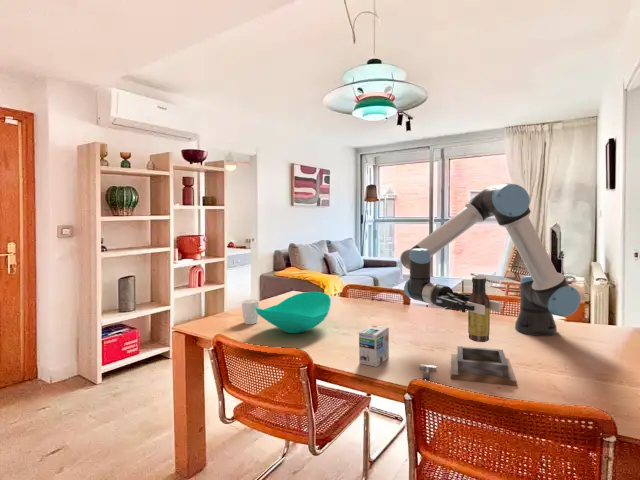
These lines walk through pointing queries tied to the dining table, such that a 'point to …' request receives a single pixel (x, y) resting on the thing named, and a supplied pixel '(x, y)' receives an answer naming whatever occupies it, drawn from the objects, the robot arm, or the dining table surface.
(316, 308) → the table top decor
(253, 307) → the white cup
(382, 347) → the light bulb box
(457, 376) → the grey square tray
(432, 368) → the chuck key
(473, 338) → the sauce bottle
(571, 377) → the dining table surface
